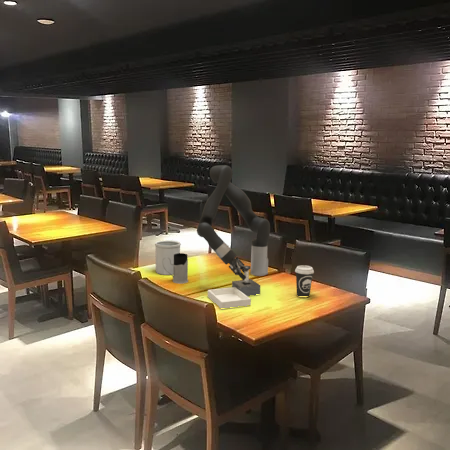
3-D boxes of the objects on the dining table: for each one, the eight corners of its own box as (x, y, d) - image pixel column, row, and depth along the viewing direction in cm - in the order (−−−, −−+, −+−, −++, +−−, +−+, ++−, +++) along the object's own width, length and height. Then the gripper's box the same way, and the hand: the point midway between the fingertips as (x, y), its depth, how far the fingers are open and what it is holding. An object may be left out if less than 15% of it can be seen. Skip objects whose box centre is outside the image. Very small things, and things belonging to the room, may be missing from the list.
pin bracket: (250, 288, 267) (251, 279, 266) (260, 294, 257) (260, 285, 256) (232, 290, 262) (232, 281, 261) (240, 297, 252) (240, 287, 252)
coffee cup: (314, 294, 259) (316, 266, 256) (309, 300, 250) (311, 271, 247) (296, 291, 263) (298, 264, 260) (291, 296, 254) (292, 268, 251)
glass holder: (188, 283, 272) (188, 257, 269) (162, 283, 271) (162, 257, 268) (188, 278, 281) (188, 252, 278) (163, 278, 280) (162, 252, 277)
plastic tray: (234, 293, 258) (235, 286, 257) (250, 305, 241) (250, 298, 240) (207, 296, 252) (207, 290, 251) (221, 309, 235) (221, 302, 234)
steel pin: (247, 290, 262) (248, 265, 259) (251, 293, 258) (251, 267, 256) (240, 291, 261) (241, 265, 258) (243, 294, 257) (244, 268, 254)
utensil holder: (166, 266, 304) (166, 238, 300) (185, 271, 295) (185, 242, 292) (149, 272, 292) (149, 242, 288) (168, 276, 283) (168, 246, 280)
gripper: (227, 252, 250) (249, 276, 250) (233, 245, 264) (254, 268, 264) (217, 261, 252) (238, 285, 252) (223, 254, 266) (243, 277, 266)
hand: (246, 276), depth 258 cm, fingers open, 8 cm apart
